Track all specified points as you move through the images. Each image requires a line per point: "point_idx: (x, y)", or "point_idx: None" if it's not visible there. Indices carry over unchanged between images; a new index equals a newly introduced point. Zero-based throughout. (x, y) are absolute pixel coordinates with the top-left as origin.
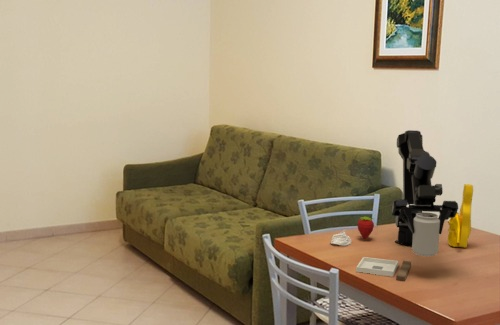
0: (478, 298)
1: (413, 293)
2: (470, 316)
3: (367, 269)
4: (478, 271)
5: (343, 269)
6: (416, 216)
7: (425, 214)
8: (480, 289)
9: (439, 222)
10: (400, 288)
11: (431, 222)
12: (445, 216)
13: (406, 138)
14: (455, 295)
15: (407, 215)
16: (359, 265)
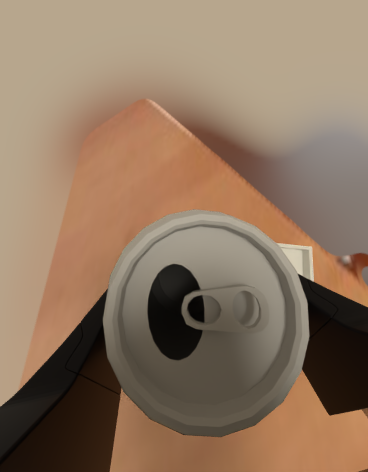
0: (99, 176)
1: (199, 172)
2: (123, 110)
3: (288, 244)
4: (69, 331)
5: (327, 256)
6: (288, 295)
7: (221, 388)
8: (88, 219)
9: (114, 271)
10: (220, 188)
11: (169, 216)
12: (29, 382)
13: None
14: (134, 180)
15: (360, 306)
16: (308, 261)
